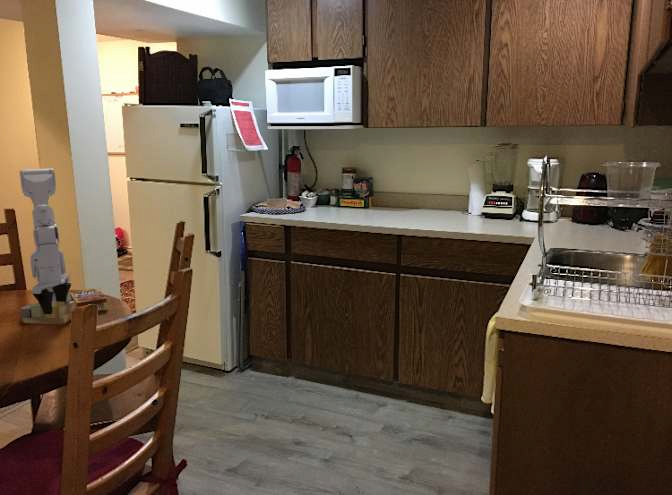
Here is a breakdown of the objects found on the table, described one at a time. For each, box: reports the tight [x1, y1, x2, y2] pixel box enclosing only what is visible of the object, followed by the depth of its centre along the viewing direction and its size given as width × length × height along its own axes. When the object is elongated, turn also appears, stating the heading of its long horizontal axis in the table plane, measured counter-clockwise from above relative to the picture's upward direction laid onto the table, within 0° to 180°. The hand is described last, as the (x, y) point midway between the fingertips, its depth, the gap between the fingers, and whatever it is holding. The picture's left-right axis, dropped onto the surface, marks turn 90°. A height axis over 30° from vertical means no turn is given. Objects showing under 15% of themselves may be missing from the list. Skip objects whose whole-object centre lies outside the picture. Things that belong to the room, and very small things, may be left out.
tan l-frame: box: [22, 300, 75, 325], centre depth 173 cm, size 7×13×5 cm, turn 81°
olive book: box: [30, 301, 46, 318], centre depth 174 cm, size 5×3×5 cm, turn 171°
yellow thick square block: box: [46, 302, 65, 318], centre depth 173 cm, size 5×3×5 cm, turn 171°
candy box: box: [70, 287, 109, 312], centre depth 186 cm, size 9×4×15 cm
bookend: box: [19, 303, 35, 322], centre depth 174 cm, size 5×3×4 cm, turn 171°
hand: (54, 310), depth 173 cm, fingers open, 6 cm apart
